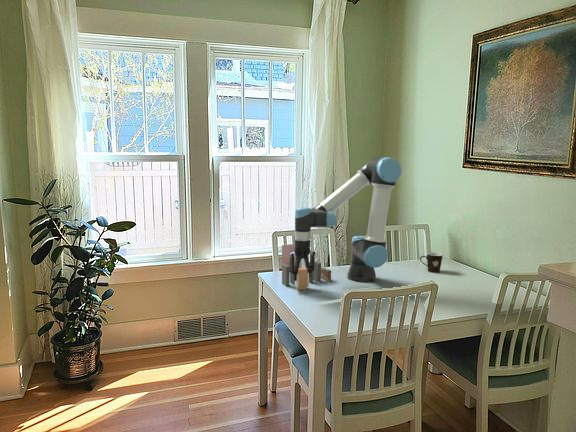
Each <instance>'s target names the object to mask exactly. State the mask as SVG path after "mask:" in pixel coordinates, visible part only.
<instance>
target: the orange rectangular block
mask: <svg viewBox="0 0 576 432" xmlns="http://www.w3.org/2000/svg"><path fill="white" fill-rule="evenodd" d="M297 274H299V288H297V287H296V290H297V291H298V290H299V291H301V290H306V289H308V286H307V268H306V267H304V268H303V267H300V269H298V273H297Z"/></svg>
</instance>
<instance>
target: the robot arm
mask: <svg viewBox="0 0 576 432" xmlns="http://www.w3.org/2000/svg"><path fill="white" fill-rule="evenodd" d="M401 174H402V167H401V165H400V163H399V161H398V160H397V159H395V158H392V157H389V156H387V157H386V156H385V157H384V156H383V157H381V156H377V157H373V158H371V159H370V160H369V161H367V162H366V163H365V164H364V165H362V166H361V167H360V168H359V169H358V170H356V174H354V176H352V177H351V178H350V179H349V180H347V181H345V183H344V184H343V185H340V187H339V188H338V189H336V190H335V191H334V192H332V193H331V194H330V195H329V196H327V197H326V198H325V199H324V200H323V201H321V202H320V203H319V204H317V205H316V206H315V207H311V208H310V207H305V206H301V207H297V208H296V209H295V213H294V239H295V240H294V244H295V250H294V252H292V253H289V256H290V273H292V274H293V280H294V281H295V285H294V287H297V288H299V274H297V273H298V269H299V265H300V266H301V262H302V260H303V261H304V266H305V268H307V287H310V283H309V279H310V276H311V273H312V271H314V261H315V257H316V251H314V250H311V229H312V228H332V227H335V226H336V221H337V220H336V219H337V218H336V213H335V212H334V211H336V210H337V209H339V207H341V206H342V205H343V204H345V203H346V202H347V201H348V200H350V199H351V198H352V197H353V196H354V195H356V194H357V193H359V191H361V190H362V189H363V188H365V187H366V186H370V185H372V186H373V190H372V198H371V203H370V210H369V216H368V223H367V231H366V234H365V235H355V236H352V239H351V250H350V251H351V252H350V254H351V255H350V257H351V258H350V259H351V260H350V265H349V268H348V271H347V276H346V277H347V279H348V280H349V281H351V282H356V283H371V282H374V281H376V280H377V275H376V270H375V269H376V268H380V267H382V266H383V265H384V264H386V262H387V261H388V257H389V253H388V250H387V248H386V247H387V239H386V238H385V233H386V228H387V227H386V226H387V225H386V224H387V221H388V220H387V219H388V214H389V213H388V212H389V207H390V206H389V205H390V202H391V195H392V190H393V189H394V188H395V187H396V183H397V181H398V179H400V177H401ZM295 255H296V262H295V266H294V257H295ZM309 262H310V264H309Z"/></svg>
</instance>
